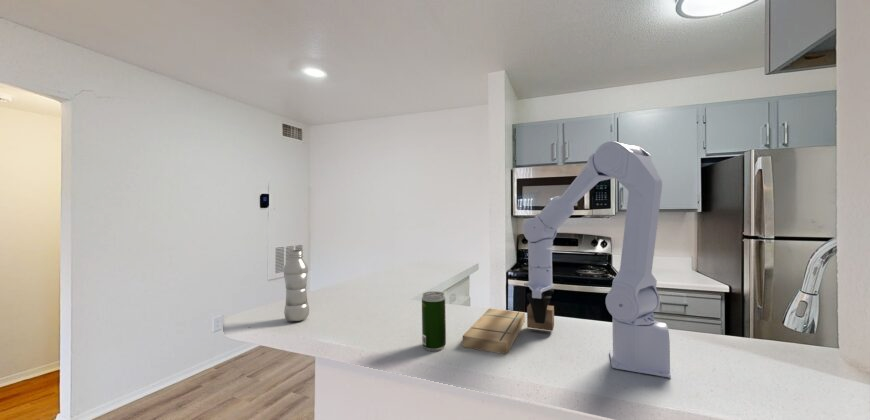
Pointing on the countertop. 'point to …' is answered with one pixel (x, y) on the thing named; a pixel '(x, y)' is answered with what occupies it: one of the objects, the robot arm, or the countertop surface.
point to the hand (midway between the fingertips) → (541, 319)
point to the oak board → (494, 331)
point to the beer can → (433, 321)
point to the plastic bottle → (296, 287)
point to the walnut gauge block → (546, 326)
